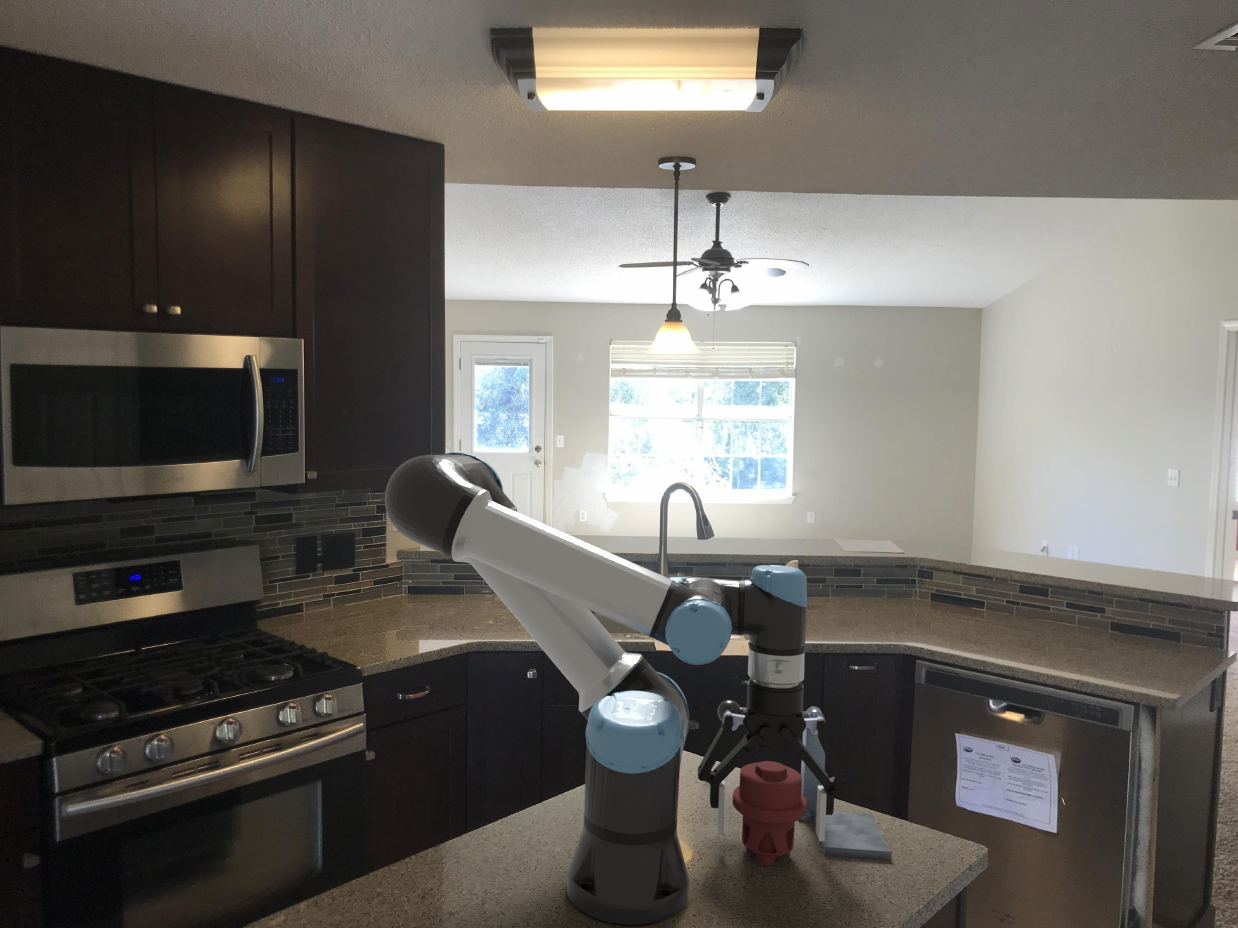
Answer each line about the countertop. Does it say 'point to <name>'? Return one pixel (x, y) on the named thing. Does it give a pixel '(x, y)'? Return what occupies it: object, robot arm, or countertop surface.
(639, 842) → the robot arm
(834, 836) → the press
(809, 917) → the countertop surface
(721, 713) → the lever
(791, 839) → the mechanical component
